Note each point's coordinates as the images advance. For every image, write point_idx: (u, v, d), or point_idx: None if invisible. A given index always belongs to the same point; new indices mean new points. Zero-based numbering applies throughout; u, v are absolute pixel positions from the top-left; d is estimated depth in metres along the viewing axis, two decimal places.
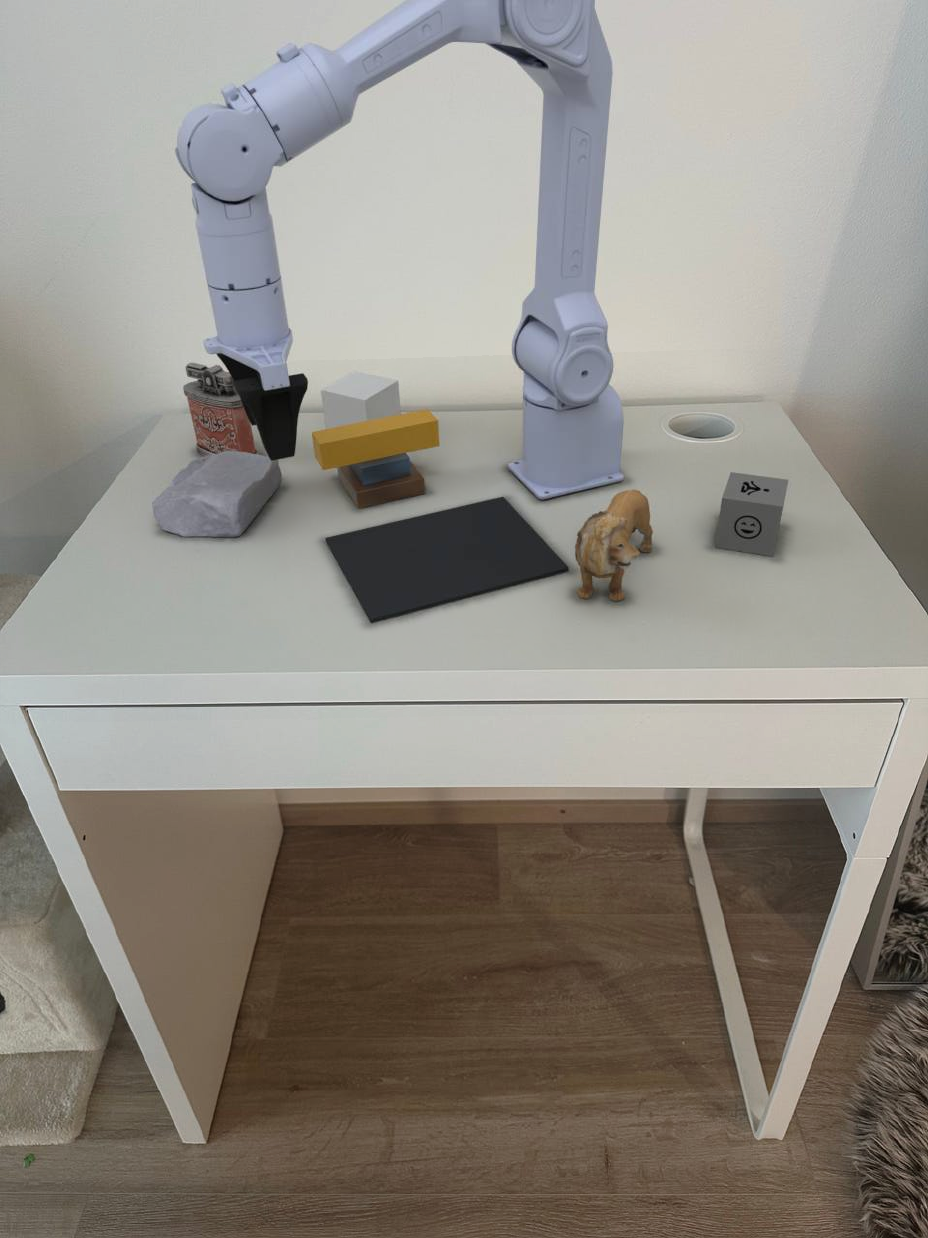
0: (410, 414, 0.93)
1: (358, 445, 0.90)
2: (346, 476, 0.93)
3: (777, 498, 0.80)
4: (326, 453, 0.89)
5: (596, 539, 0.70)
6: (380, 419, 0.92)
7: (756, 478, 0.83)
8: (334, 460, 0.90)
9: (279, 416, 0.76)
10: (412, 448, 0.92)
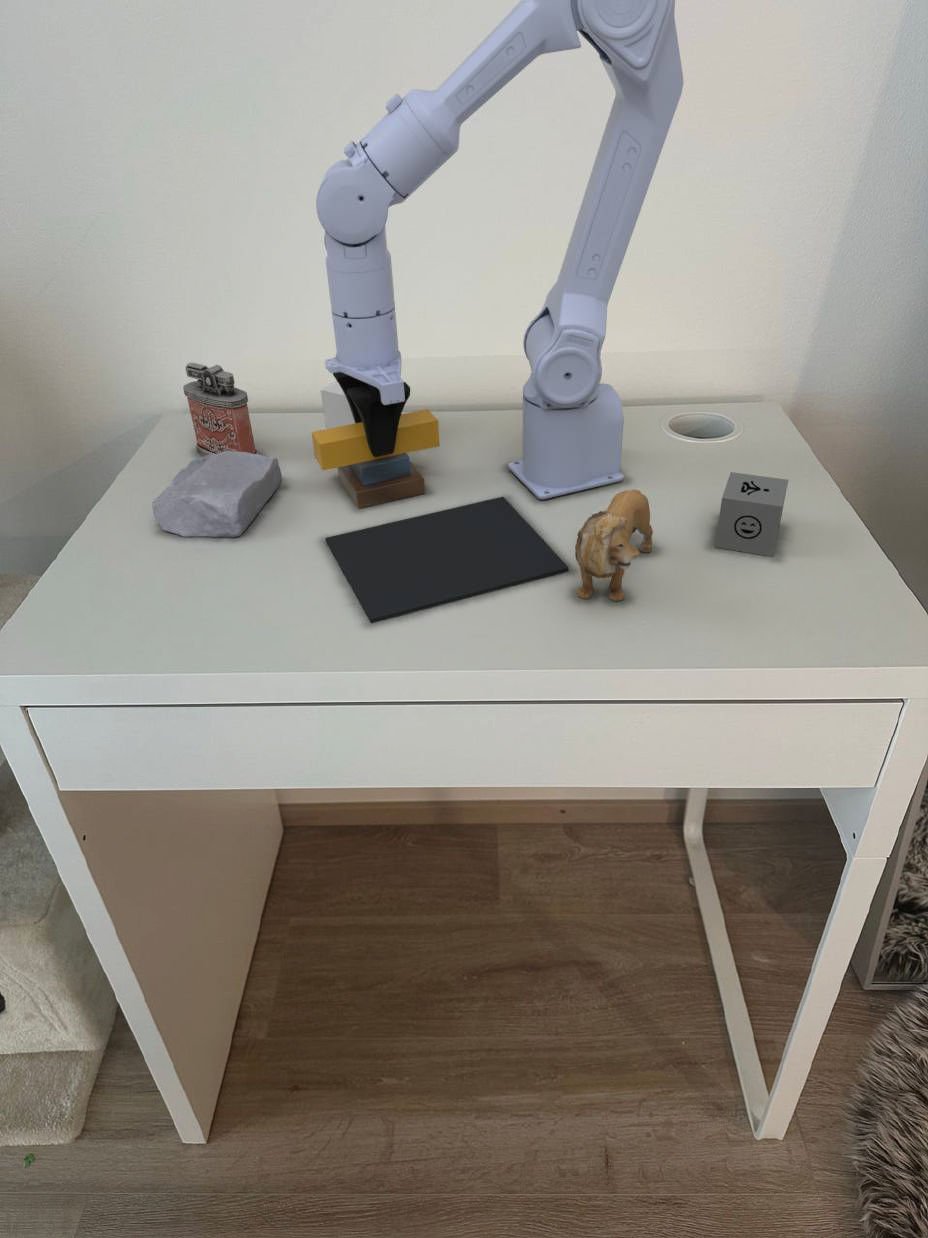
0: (410, 414, 0.93)
1: (358, 445, 0.90)
2: (346, 476, 0.93)
3: (777, 498, 0.80)
4: (327, 453, 0.89)
5: (597, 538, 0.70)
6: None
7: (756, 478, 0.83)
8: (334, 460, 0.90)
9: (383, 418, 0.88)
10: (412, 448, 0.92)
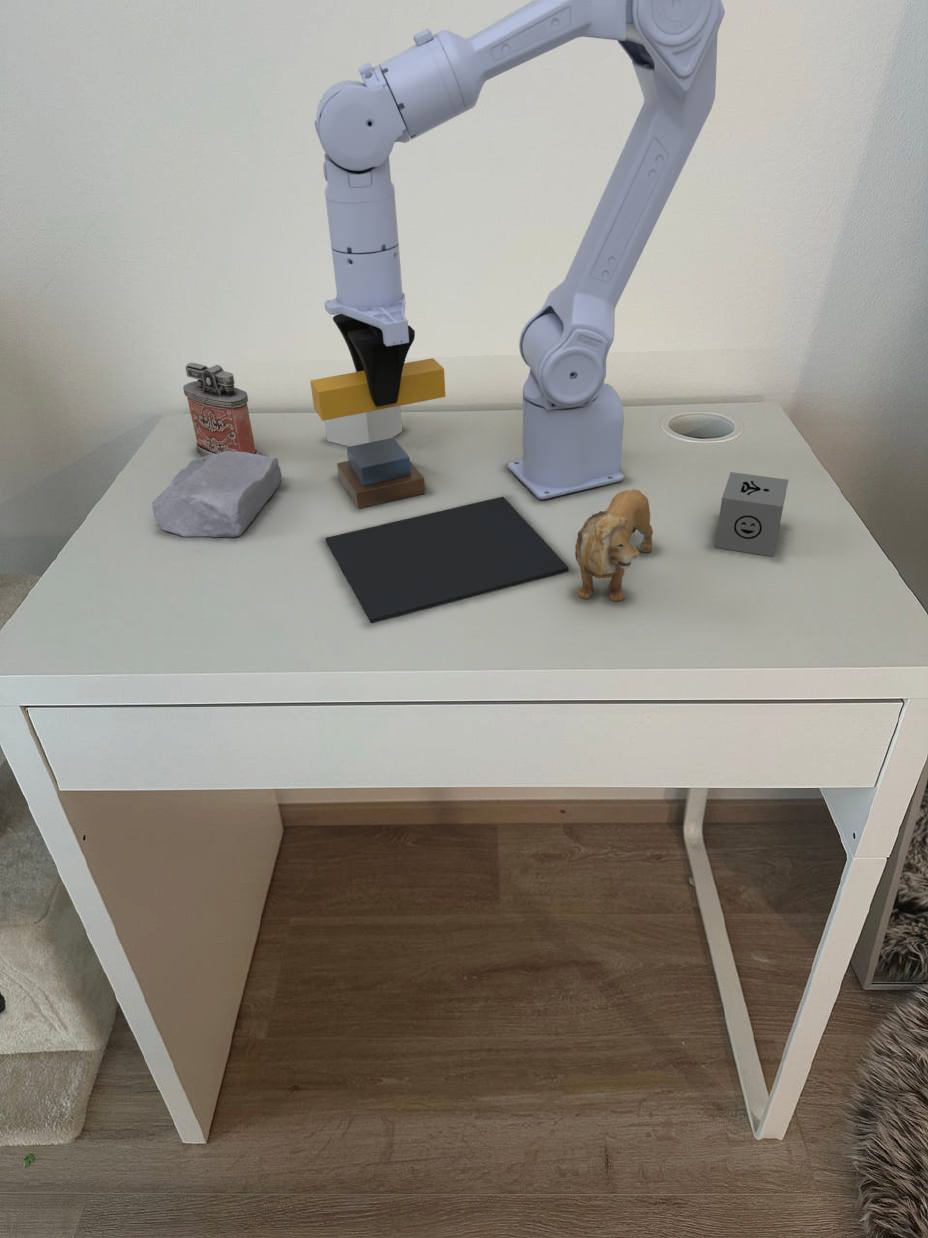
0: (414, 363, 0.88)
1: (360, 394, 0.85)
2: (346, 476, 0.93)
3: (777, 498, 0.80)
4: (326, 402, 0.84)
5: (597, 538, 0.70)
6: None
7: (756, 478, 0.83)
8: (334, 410, 0.85)
9: (386, 365, 0.83)
10: (417, 399, 0.87)
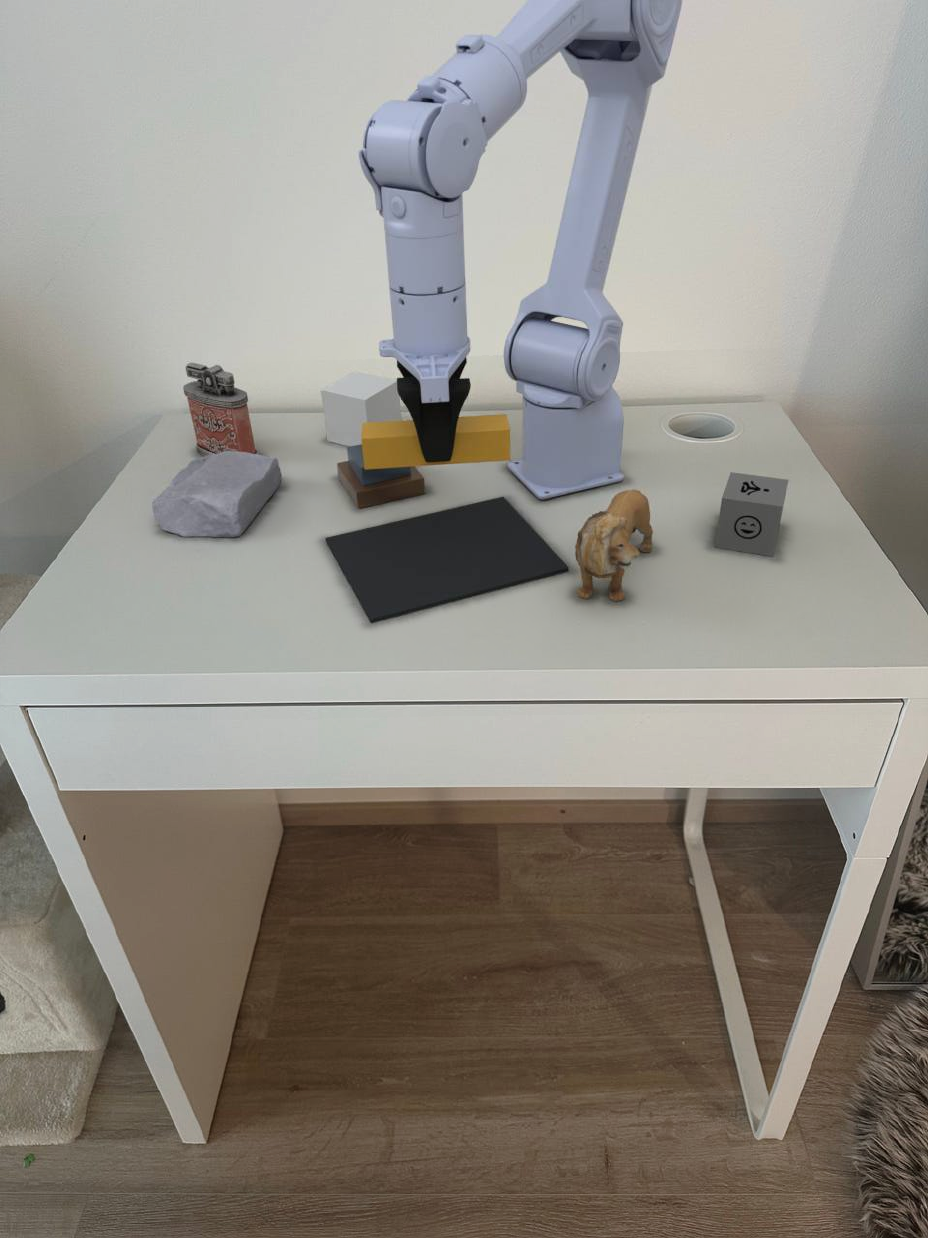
0: (482, 418, 0.77)
1: (409, 446, 0.76)
2: (346, 476, 0.93)
3: (777, 498, 0.80)
4: (369, 451, 0.76)
5: (597, 538, 0.70)
6: None
7: (756, 478, 0.83)
8: (378, 459, 0.76)
9: (439, 419, 0.74)
10: (475, 458, 0.77)
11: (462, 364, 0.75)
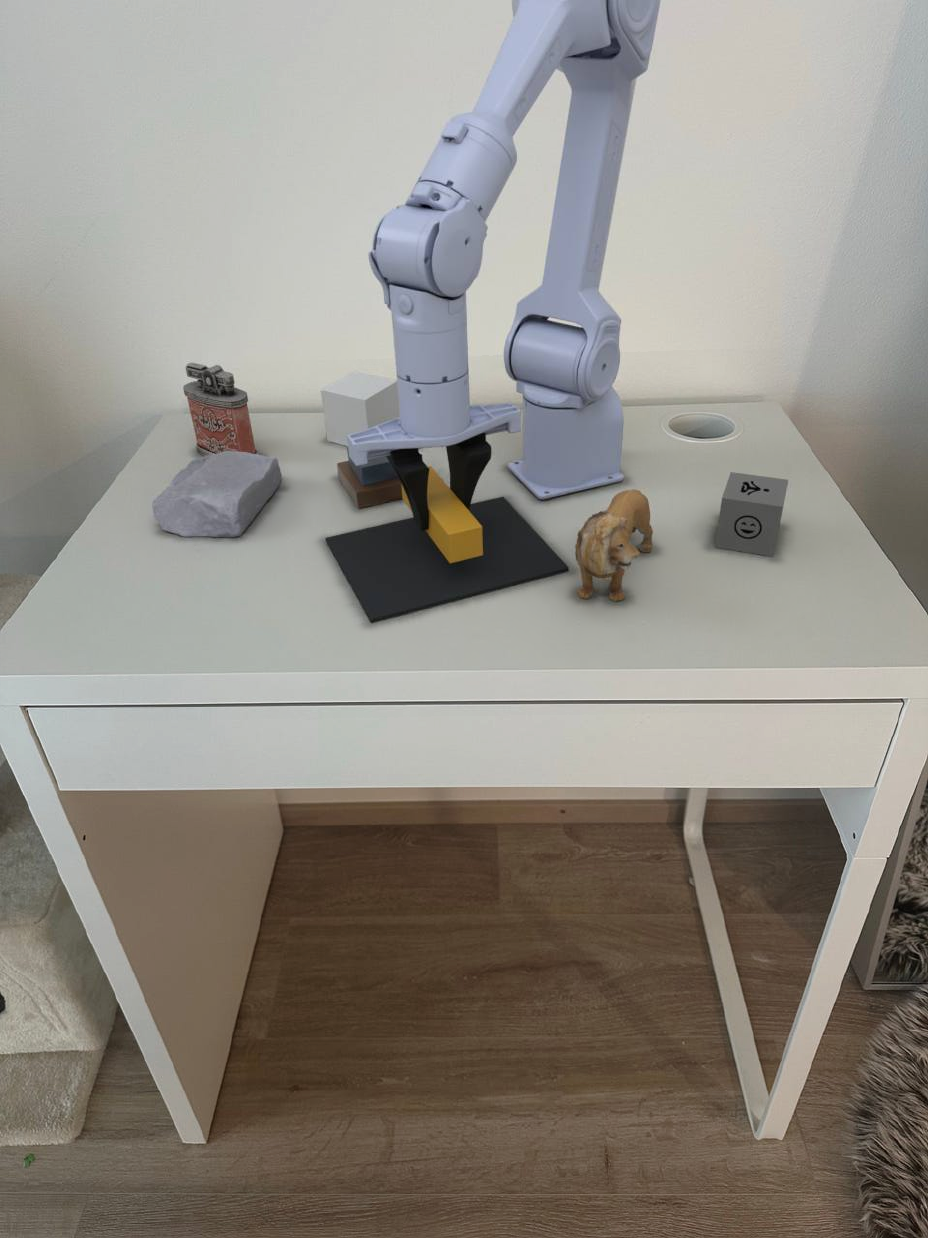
0: (466, 516, 0.78)
1: None
2: (346, 476, 0.93)
3: (777, 498, 0.80)
4: None
5: (597, 539, 0.70)
6: (455, 499, 0.80)
7: (756, 478, 0.83)
8: (406, 497, 0.85)
9: None
10: (437, 543, 0.79)
11: (466, 459, 0.76)
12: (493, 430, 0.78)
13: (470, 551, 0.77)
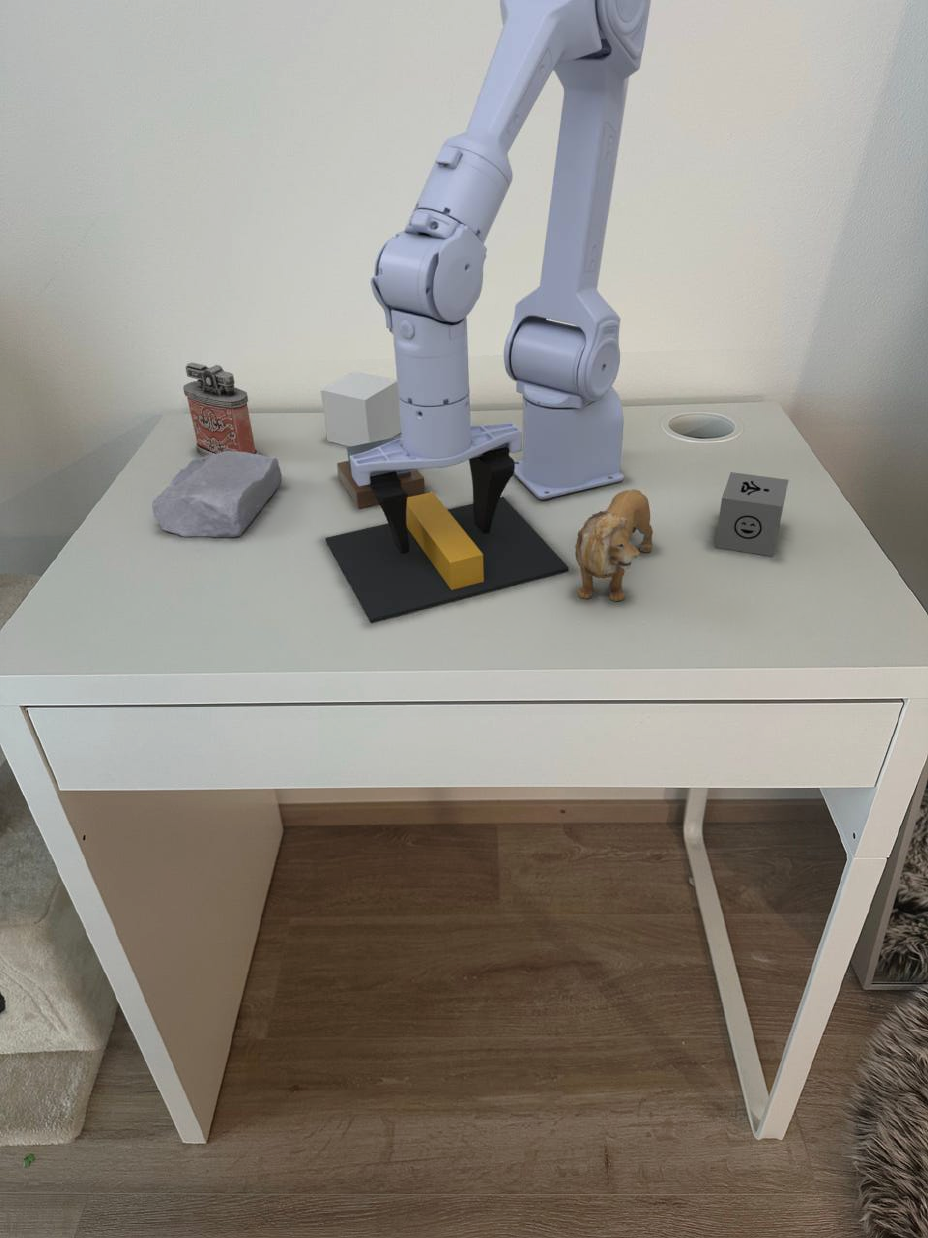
0: (467, 544, 0.79)
1: (417, 526, 0.84)
2: (346, 476, 0.93)
3: (777, 498, 0.80)
4: None
5: (597, 538, 0.70)
6: (456, 526, 0.82)
7: (756, 478, 0.83)
8: (408, 523, 0.86)
9: None
10: (439, 570, 0.81)
11: (490, 474, 0.78)
12: (494, 450, 0.79)
13: (471, 578, 0.79)
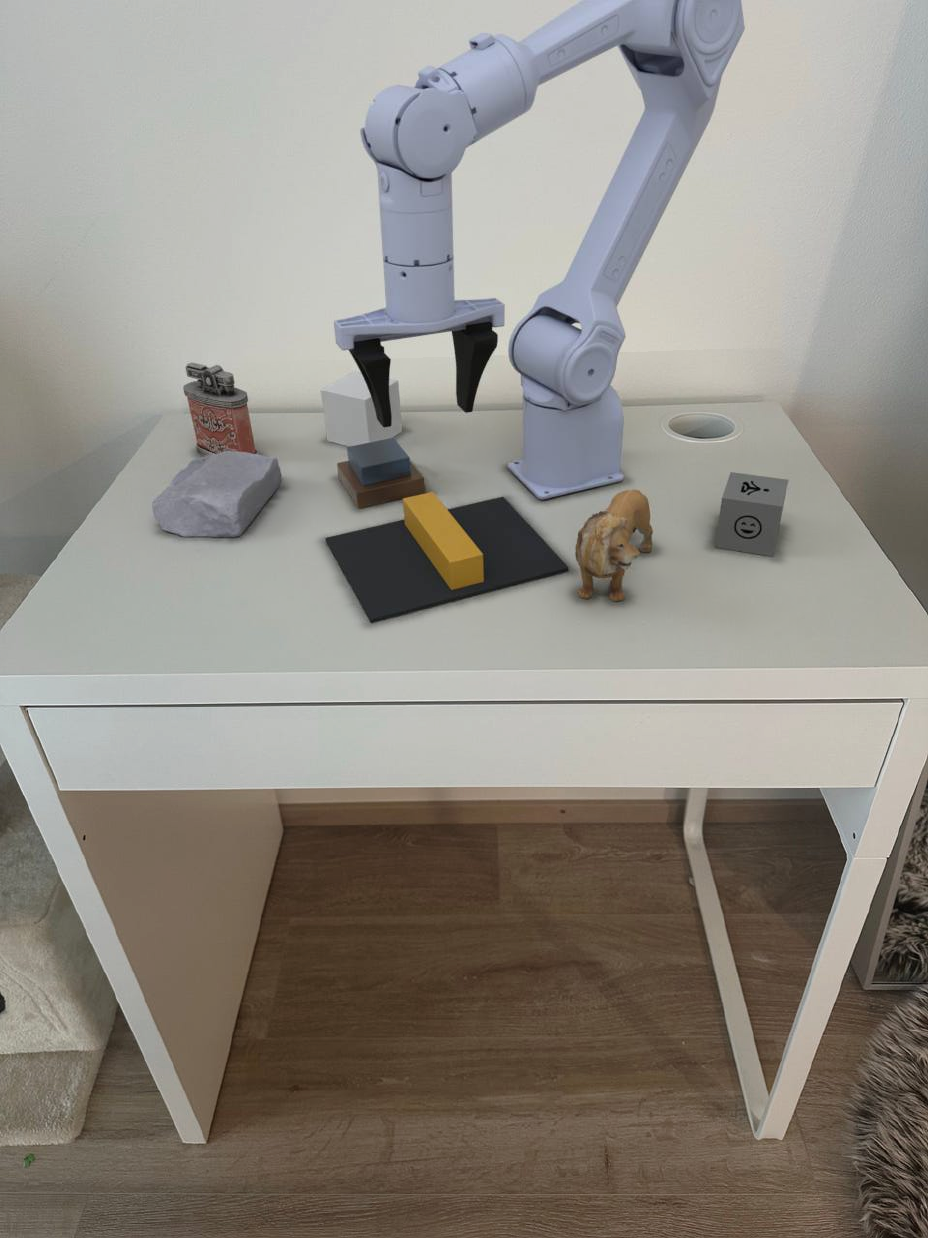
0: (467, 544, 0.79)
1: (417, 526, 0.84)
2: (346, 476, 0.93)
3: (777, 498, 0.80)
4: (405, 512, 0.86)
5: (597, 539, 0.70)
6: (456, 526, 0.82)
7: (756, 478, 0.83)
8: (408, 523, 0.86)
9: None
10: (439, 570, 0.81)
11: (473, 345, 0.79)
12: None
13: (471, 578, 0.79)
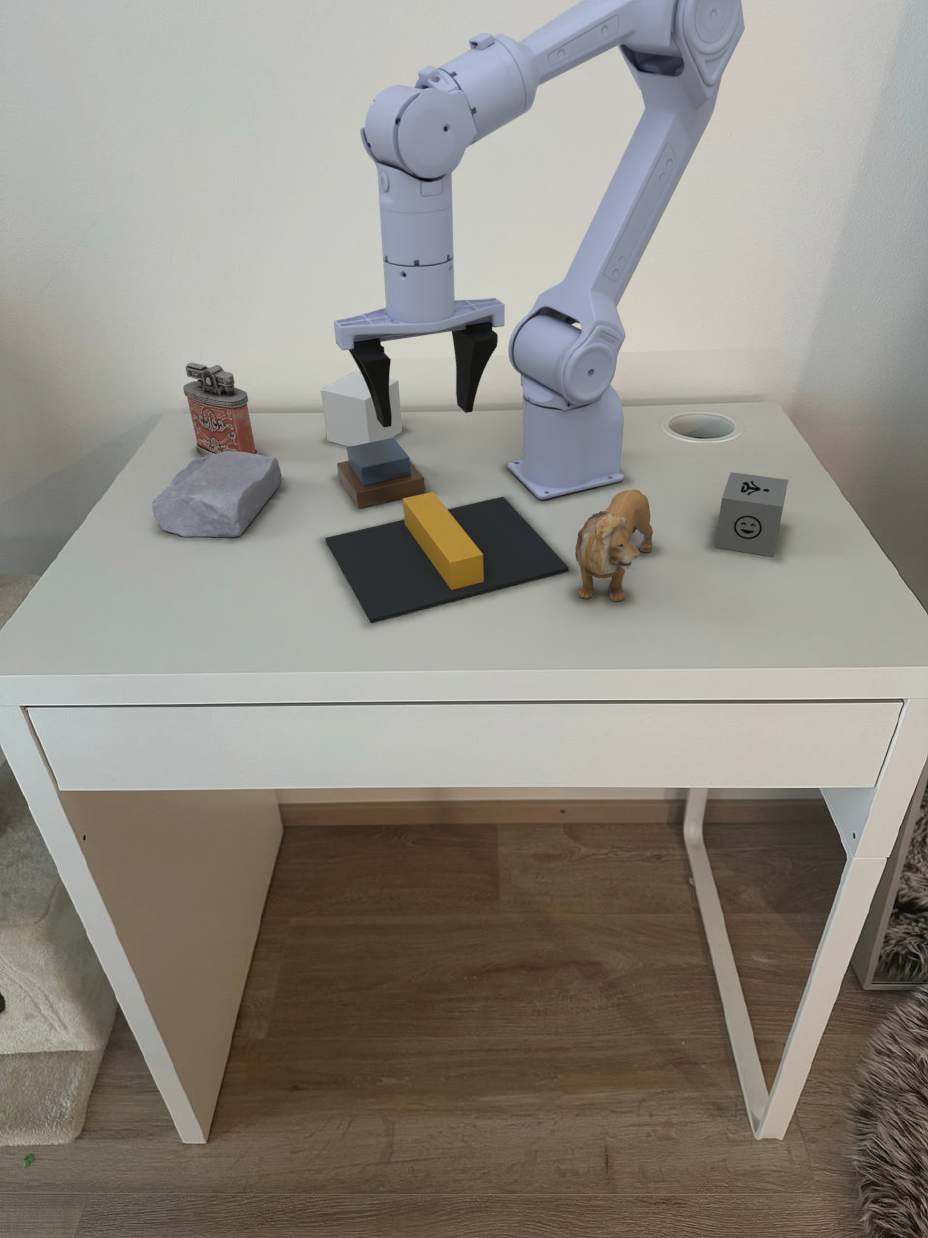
0: (467, 544, 0.79)
1: (417, 526, 0.84)
2: (346, 476, 0.93)
3: (777, 498, 0.80)
4: (405, 512, 0.86)
5: (597, 538, 0.70)
6: (456, 526, 0.82)
7: (756, 478, 0.83)
8: (408, 523, 0.86)
9: None
10: (439, 570, 0.81)
11: (473, 345, 0.79)
12: None
13: (471, 578, 0.79)
